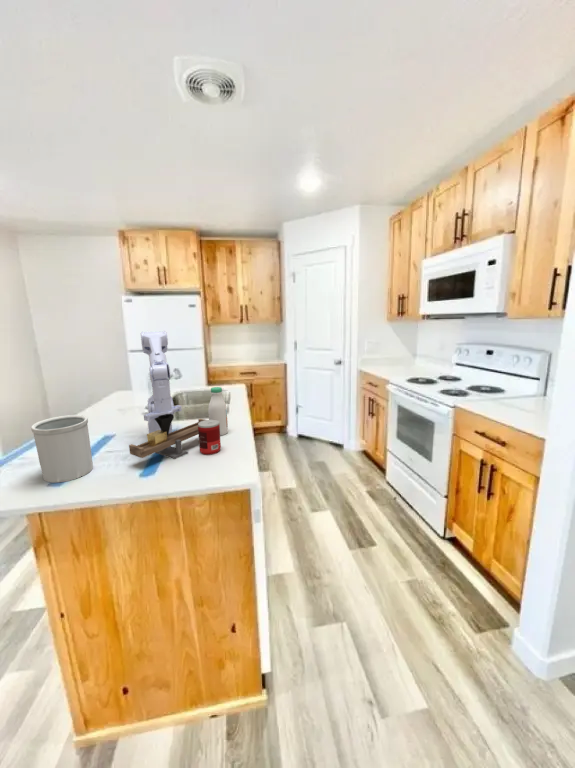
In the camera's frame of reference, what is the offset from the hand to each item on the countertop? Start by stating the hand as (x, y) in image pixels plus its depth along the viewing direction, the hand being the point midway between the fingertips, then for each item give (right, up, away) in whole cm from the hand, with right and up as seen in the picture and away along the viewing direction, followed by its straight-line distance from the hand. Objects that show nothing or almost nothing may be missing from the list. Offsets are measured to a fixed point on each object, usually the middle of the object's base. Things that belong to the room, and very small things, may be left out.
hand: (165, 434), depth 120 cm
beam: (+2, -3, +4) cm, 5 cm away
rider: (-2, -3, -2) cm, 4 cm away
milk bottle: (+14, -3, +24) cm, 28 cm away
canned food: (+15, -7, +5) cm, 17 cm away
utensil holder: (-27, -11, -12) cm, 32 cm away
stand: (+1, -7, +3) cm, 8 cm away
